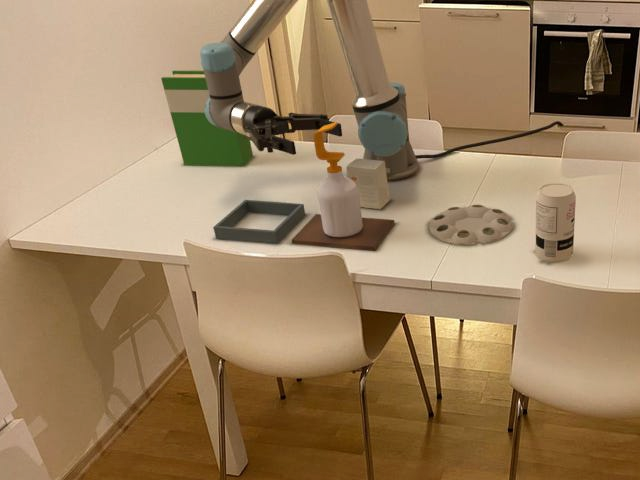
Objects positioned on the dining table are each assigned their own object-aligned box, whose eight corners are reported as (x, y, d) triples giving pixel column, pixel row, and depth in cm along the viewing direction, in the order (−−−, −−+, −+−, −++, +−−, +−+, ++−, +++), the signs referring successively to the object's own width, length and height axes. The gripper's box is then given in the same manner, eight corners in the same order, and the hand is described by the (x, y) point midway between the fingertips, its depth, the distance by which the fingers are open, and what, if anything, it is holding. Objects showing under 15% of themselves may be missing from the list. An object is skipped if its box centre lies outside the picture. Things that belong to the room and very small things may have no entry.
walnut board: (394, 223, 179) (394, 219, 178) (375, 250, 168) (374, 246, 167) (316, 217, 183) (315, 213, 182) (292, 243, 172) (291, 239, 171)
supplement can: (532, 247, 167) (533, 183, 158) (569, 245, 167) (572, 181, 159) (537, 265, 160) (539, 199, 152) (576, 262, 161) (579, 196, 152)
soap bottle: (355, 239, 170) (340, 132, 156) (317, 236, 172) (299, 130, 158) (368, 222, 178) (355, 118, 163) (331, 220, 179) (315, 116, 165)
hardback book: (184, 165, 214) (161, 78, 200) (195, 155, 220) (173, 70, 206) (243, 166, 212) (224, 78, 198) (253, 156, 218) (235, 70, 204)
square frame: (305, 215, 184) (303, 203, 182) (277, 244, 172) (275, 232, 170) (247, 210, 187) (245, 199, 186) (216, 238, 175) (212, 227, 173)
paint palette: (456, 253, 166) (456, 245, 165) (414, 222, 179) (413, 214, 178) (529, 230, 174) (529, 222, 173) (483, 201, 188) (483, 194, 186)
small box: (390, 200, 190) (385, 160, 184) (380, 210, 185) (375, 169, 179) (361, 197, 192) (356, 157, 186) (351, 206, 188) (345, 165, 181)
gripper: (299, 122, 186) (360, 139, 175) (215, 153, 170) (276, 173, 159) (294, 91, 182) (356, 106, 171) (207, 120, 166) (269, 138, 155)
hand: (317, 139), depth 165 cm, fingers open, 13 cm apart
